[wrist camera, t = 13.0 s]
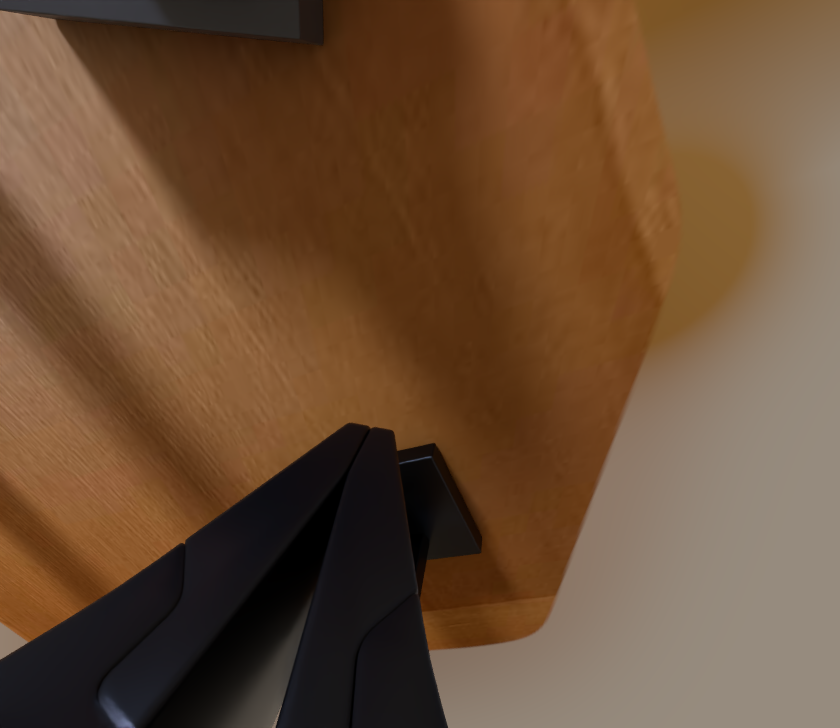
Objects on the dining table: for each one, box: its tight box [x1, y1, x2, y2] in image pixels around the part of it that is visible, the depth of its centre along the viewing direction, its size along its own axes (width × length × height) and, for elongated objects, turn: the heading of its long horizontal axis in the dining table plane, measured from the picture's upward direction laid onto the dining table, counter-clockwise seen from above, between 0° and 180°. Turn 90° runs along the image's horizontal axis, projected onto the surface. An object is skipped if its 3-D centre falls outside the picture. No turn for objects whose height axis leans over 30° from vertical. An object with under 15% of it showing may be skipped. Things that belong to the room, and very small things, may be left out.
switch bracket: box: [397, 443, 482, 597], centre depth 24 cm, size 10×8×11 cm
